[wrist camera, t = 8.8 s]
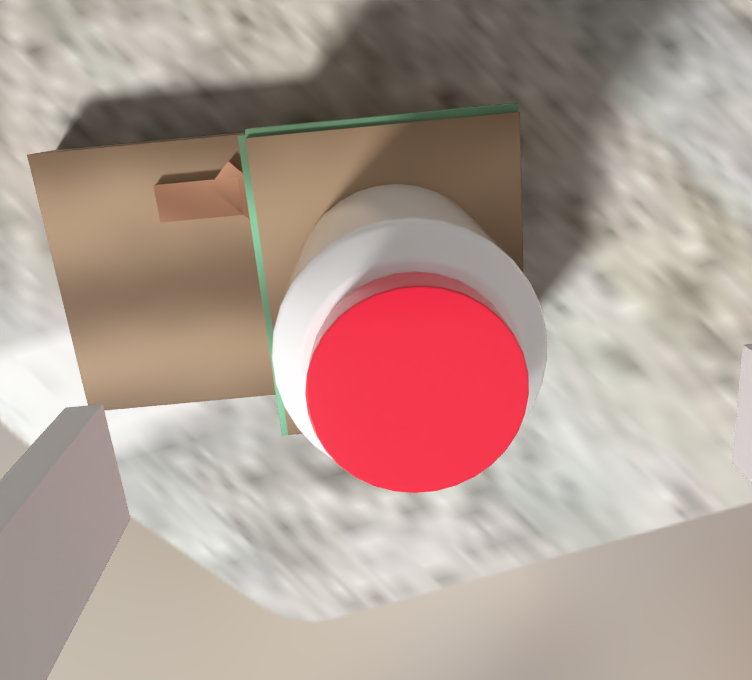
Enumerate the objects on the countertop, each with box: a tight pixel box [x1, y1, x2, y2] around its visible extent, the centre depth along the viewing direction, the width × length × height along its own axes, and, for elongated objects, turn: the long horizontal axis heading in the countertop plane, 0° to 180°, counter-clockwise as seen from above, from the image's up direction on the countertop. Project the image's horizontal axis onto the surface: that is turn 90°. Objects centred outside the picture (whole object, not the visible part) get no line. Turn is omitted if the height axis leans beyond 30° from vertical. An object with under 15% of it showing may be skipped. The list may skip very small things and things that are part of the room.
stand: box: [27, 103, 523, 435], centre depth 31 cm, size 12×20×8 cm, turn 95°
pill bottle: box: [272, 184, 547, 493], centre depth 22 cm, size 8×8×11 cm
